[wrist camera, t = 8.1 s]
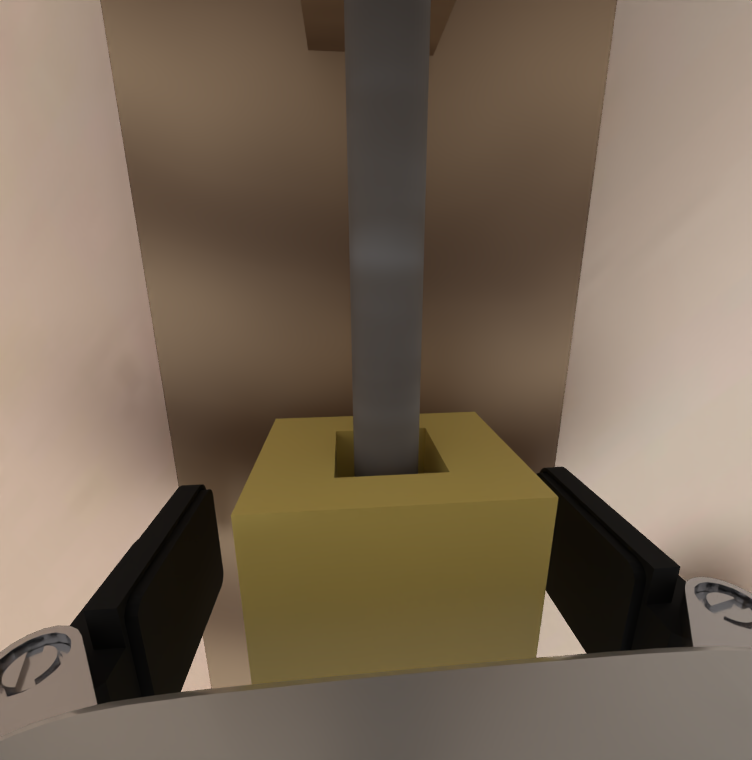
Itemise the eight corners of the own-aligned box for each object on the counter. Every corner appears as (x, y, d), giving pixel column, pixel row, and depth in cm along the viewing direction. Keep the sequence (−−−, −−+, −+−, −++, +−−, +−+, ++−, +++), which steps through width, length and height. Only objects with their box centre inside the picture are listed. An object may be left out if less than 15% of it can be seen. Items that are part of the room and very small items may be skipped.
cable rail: (121, -18, 9) (-544, -908, 2) (589, 8, 10) (1110, -557, 3) (228, 705, 16) (138, 1048, 9) (509, 678, 17) (630, 966, 10)
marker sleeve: (275, 418, 10) (230, 515, 6) (474, 411, 10) (558, 496, 6) (290, 602, 12) (262, 776, 8) (462, 589, 12) (523, 746, 8)
